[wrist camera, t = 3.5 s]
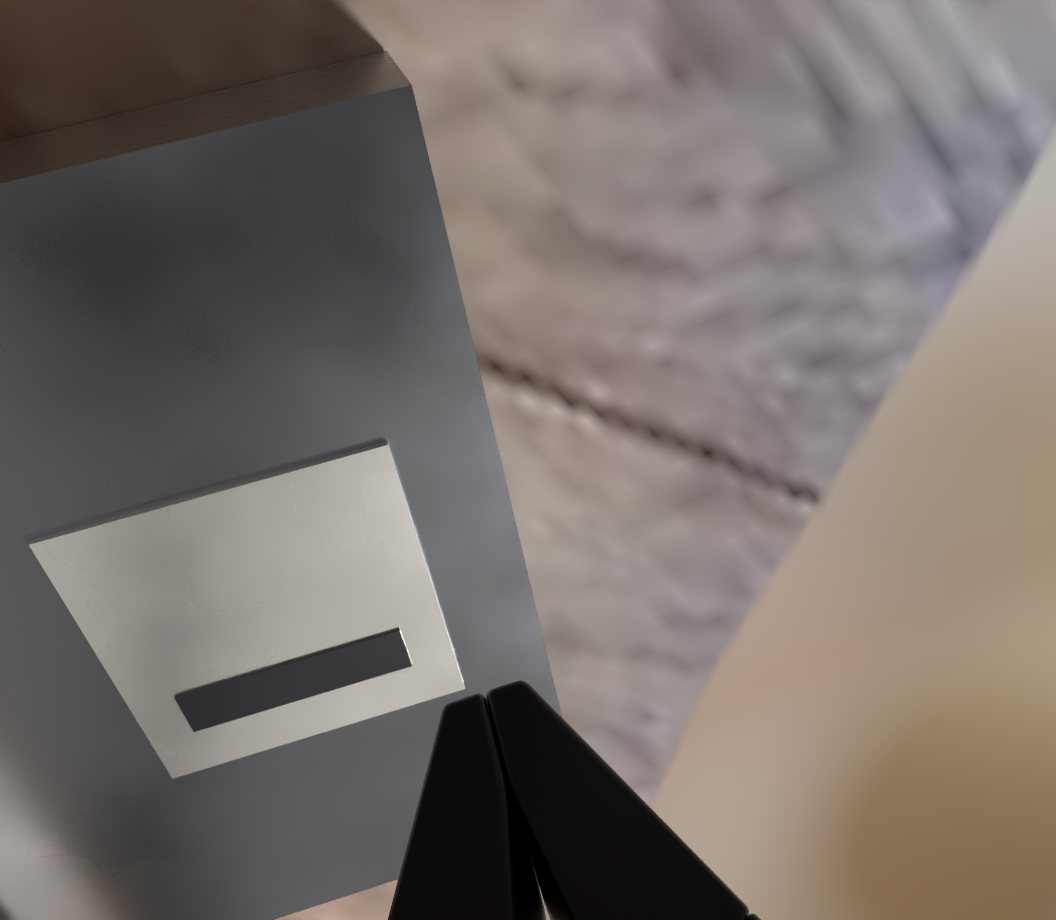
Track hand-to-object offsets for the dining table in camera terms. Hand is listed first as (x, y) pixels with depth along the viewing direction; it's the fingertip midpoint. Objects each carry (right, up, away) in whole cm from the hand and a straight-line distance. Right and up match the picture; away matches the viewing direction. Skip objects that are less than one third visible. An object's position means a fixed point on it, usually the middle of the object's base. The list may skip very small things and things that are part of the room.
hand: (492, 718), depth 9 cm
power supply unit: (-8, -1, +8) cm, 11 cm away
